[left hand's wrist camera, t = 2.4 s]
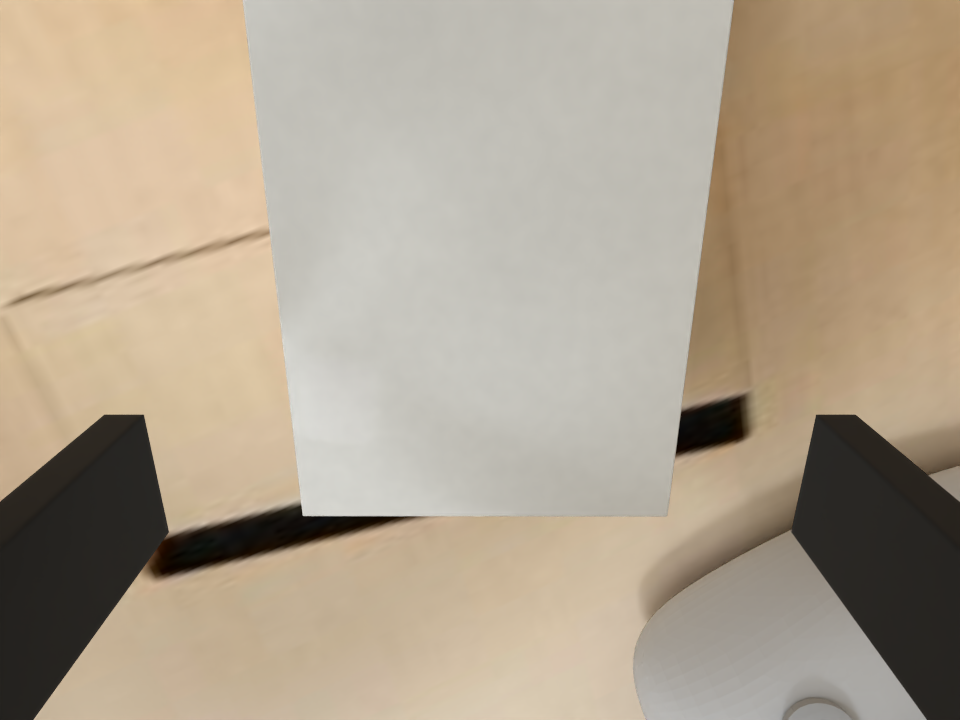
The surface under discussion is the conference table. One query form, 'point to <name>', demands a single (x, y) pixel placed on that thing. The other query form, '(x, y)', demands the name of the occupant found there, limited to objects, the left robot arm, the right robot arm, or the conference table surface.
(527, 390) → the cabinet
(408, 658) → the conference table surface
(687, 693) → the projector
